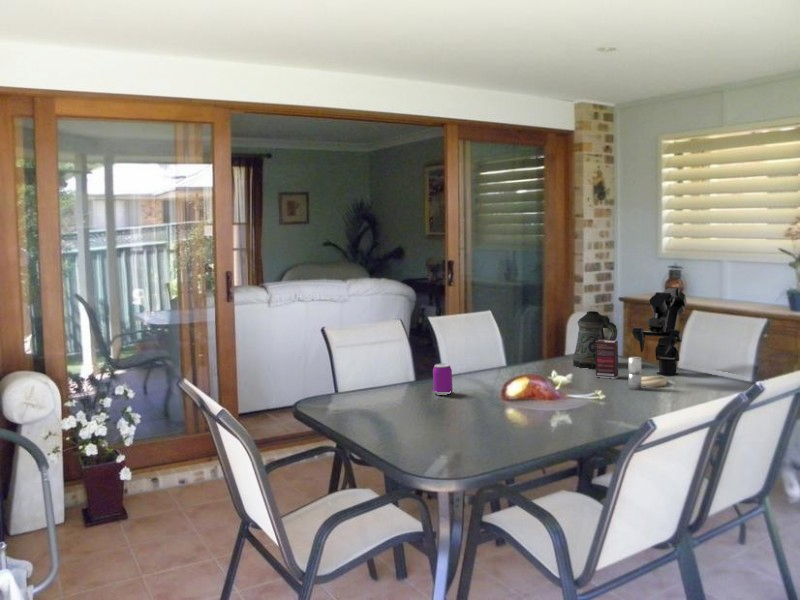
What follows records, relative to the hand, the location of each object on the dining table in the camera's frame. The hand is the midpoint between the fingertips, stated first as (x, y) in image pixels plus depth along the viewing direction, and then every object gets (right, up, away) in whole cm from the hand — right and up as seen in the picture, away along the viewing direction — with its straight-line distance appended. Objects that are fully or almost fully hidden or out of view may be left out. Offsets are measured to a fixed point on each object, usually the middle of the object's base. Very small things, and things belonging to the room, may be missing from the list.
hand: (653, 352), depth 293 cm
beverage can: (-84, -17, +3) cm, 86 cm away
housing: (-8, -14, -1) cm, 16 cm away
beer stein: (-12, -9, +44) cm, 46 cm away
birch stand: (+1, -13, +6) cm, 14 cm away
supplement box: (-13, -12, +20) cm, 27 cm away
